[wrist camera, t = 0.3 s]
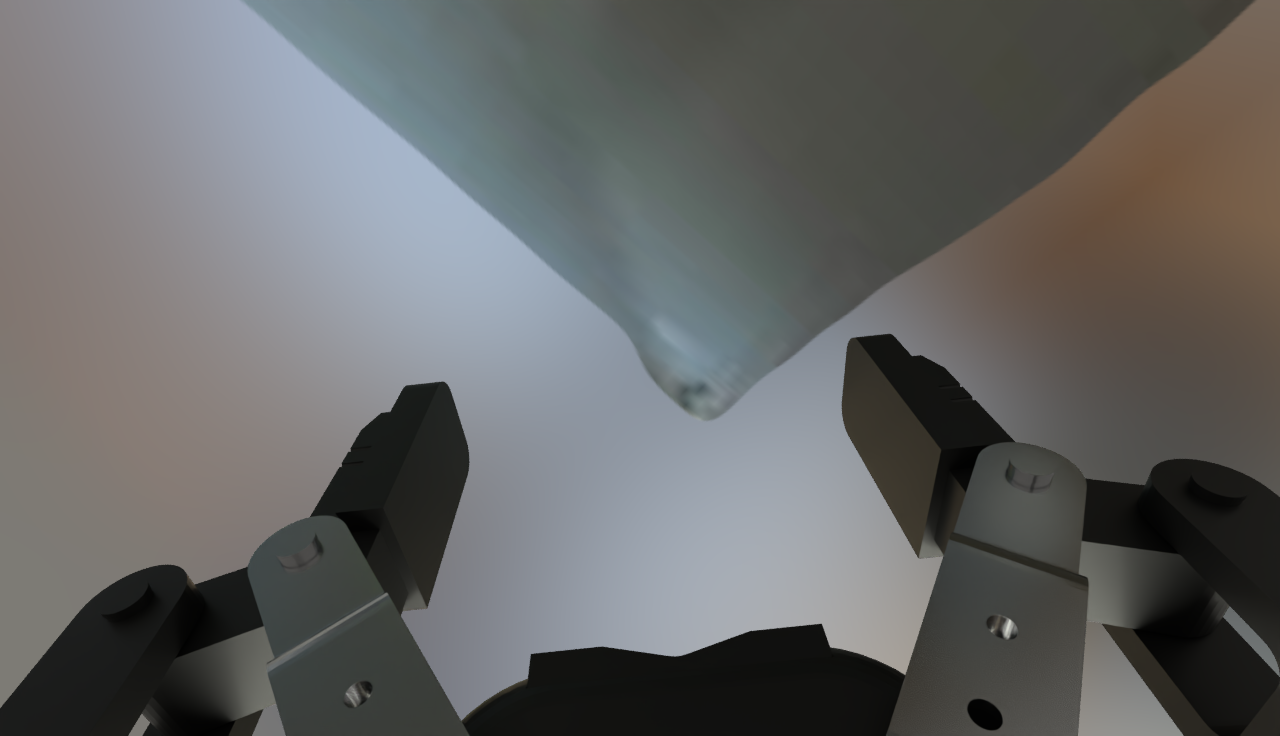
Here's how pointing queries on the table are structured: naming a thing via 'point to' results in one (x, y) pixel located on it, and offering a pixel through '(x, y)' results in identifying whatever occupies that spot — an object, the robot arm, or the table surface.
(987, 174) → the table surface
